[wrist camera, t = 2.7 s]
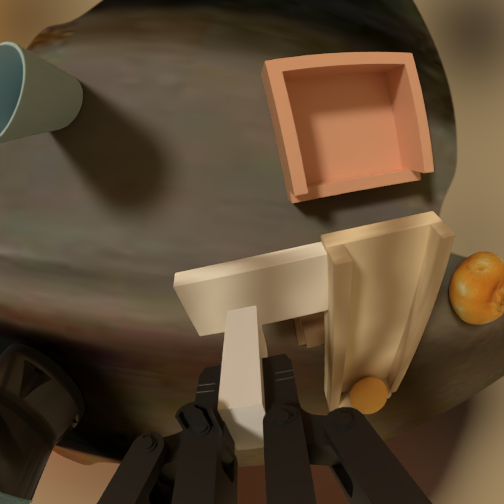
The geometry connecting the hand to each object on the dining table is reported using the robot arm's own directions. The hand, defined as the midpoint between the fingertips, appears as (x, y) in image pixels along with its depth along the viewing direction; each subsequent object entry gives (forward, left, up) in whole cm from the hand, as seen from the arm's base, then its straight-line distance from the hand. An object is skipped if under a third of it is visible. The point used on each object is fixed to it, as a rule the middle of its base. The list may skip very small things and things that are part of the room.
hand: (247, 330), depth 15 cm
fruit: (+25, -9, -13) cm, 29 cm away
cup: (-14, +18, -13) cm, 26 cm away
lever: (+5, -7, -7) cm, 11 cm away
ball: (+9, -16, -7) cm, 20 cm away
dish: (+11, +9, -13) cm, 19 cm away
